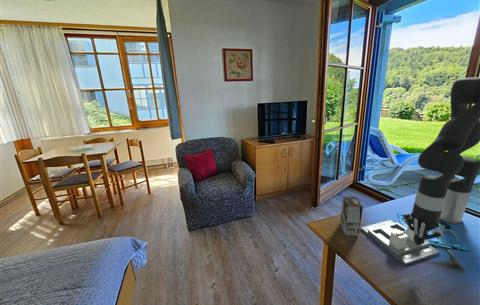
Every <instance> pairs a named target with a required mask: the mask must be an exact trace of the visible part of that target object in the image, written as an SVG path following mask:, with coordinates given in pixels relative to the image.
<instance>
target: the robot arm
mask: <svg viewBox="0 0 480 305" xmlns="http://www.w3.org/2000/svg"><path fill="white" fill-rule="evenodd" d="M451 86H452V87H451V90H450V119H449V120H447V121H446V122H445V123H444V124H443V125H442V127H441V129H440V131H439V132H438V135H437V137H436V138H435V139H434V140H433V141H432V143H430V144H429V145H428V147H426V148H425V149H424V150H422V152H421V153H420V155H419V156H418V158H417V163H418V165H419V167H421V168H422V169H424V170H429V171H432V172H437V173H442V175H432V174H429V175H428V174H426V175H423V176H422V177H421V178H420V182H419V185H418V189H417V193H416V194H415V199H414V203H413V207H412V212H410V213H405V214H403V216H404V219H405V221H406V224H407V227H408V226H409V228H410V230H413V231H414V238H413V239H414V242H415V243H416V244H418V245H421V244H424V242H425V240H426V241H428V240H431V239H435V238H438V237H443V236H445V235H446V233H445V232H444V231H442V230H441V229H440V228H439V227H440V224H439V221H440V220H441V221H444V222H446V223H449V224H456V225H457V224H461V222H462V220H463V218H464V215H465V210H466V208H467V205H468V202H469V200H470V196H471V193H472V190H473V186H474V184H475V181H476V178H477V176H478V174H479V171H480V159H478V158H473V157H468V156H462V155H461V154H462V153H465V152H467V151H468V150H470V149H472V148H473V147H475V146H476V145H478V144H479V143H480V76H479V77H478V76H476V77H461V78H459V79H456V80H455V81H454V82H453V85H451ZM467 105H472V106H470V107H469V108H468V107H467ZM455 176H458V177H463V178H455ZM412 225H413V226H412ZM430 231H433V232H432V233H431V234H429V233H430Z"/></svg>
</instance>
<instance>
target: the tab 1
mask: <svg viewBox="0 0 480 305" xmlns="http://www.w3.org/2000/svg"><path fill="white" fill-rule="evenodd" d="M407 239H408V236H407V235H406V234H404V232H403V231H400V230H396V231H393V232H391V236H390V241H389V244H390V245H391V246H393V247H394V248H395V249H397V250H401V249H404V248H405V247H406V243H407Z"/></svg>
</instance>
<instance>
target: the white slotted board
mask: <svg viewBox="0 0 480 305" xmlns="http://www.w3.org/2000/svg"><path fill="white" fill-rule="evenodd" d="M396 230H400V231H403V232H404V230H406V231H407V227H406V226H405V225H404V226H403V225H402V224H401V223H399V222H397V221H396V222H394V221H393V220H391V219H388V220H385V221H381V222H377V223H374V224H370V225H369V224H368V225H365V226H362V227H361V226H360V231H362V232H363V233H364V234H366V236H368V237H369V238H370V239H371V240H373V241H374V242H375V243H377V245H379V246H381V247H382V248H383V249H384V250H386V251H387V253H389V254H390V255H392V257H394V258H395V259H397V261H398V262H399V263H401V264H402V265H404V266H408V265H410V264H413V263H417V262H420V261H422V260H425V259H429V258H432V257H435V256H438V255H440V254H441V251H440V250H438V249H436V248H435V247H433V246H432V245H430V244H431V242H429V241H428V240H426V239H425V242H424V244H421V245H418V244H415V243H413V242H412V241H410V240H409V239H407V243H406V247H405V248H404V249H401V250H397V249H395V248H394V247H393V246H391V245H390V244H389V241H390V236H391V232H393V231H396ZM404 234H405V232H404Z"/></svg>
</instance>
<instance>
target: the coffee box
mask: <svg viewBox="0 0 480 305" xmlns="http://www.w3.org/2000/svg"><path fill="white" fill-rule="evenodd" d="M363 208H364V206H363V205H362V203H361V202H360V201H359V199H358V197H356V196H342V203H341V213H340V221H339V222H340V223H339V224H340V225H341V229H342V230H343V234H344V235H345V236H354V237H356V236H357V237H359V235H360V231H361V221H362V216H363V215H362V214H363Z"/></svg>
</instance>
